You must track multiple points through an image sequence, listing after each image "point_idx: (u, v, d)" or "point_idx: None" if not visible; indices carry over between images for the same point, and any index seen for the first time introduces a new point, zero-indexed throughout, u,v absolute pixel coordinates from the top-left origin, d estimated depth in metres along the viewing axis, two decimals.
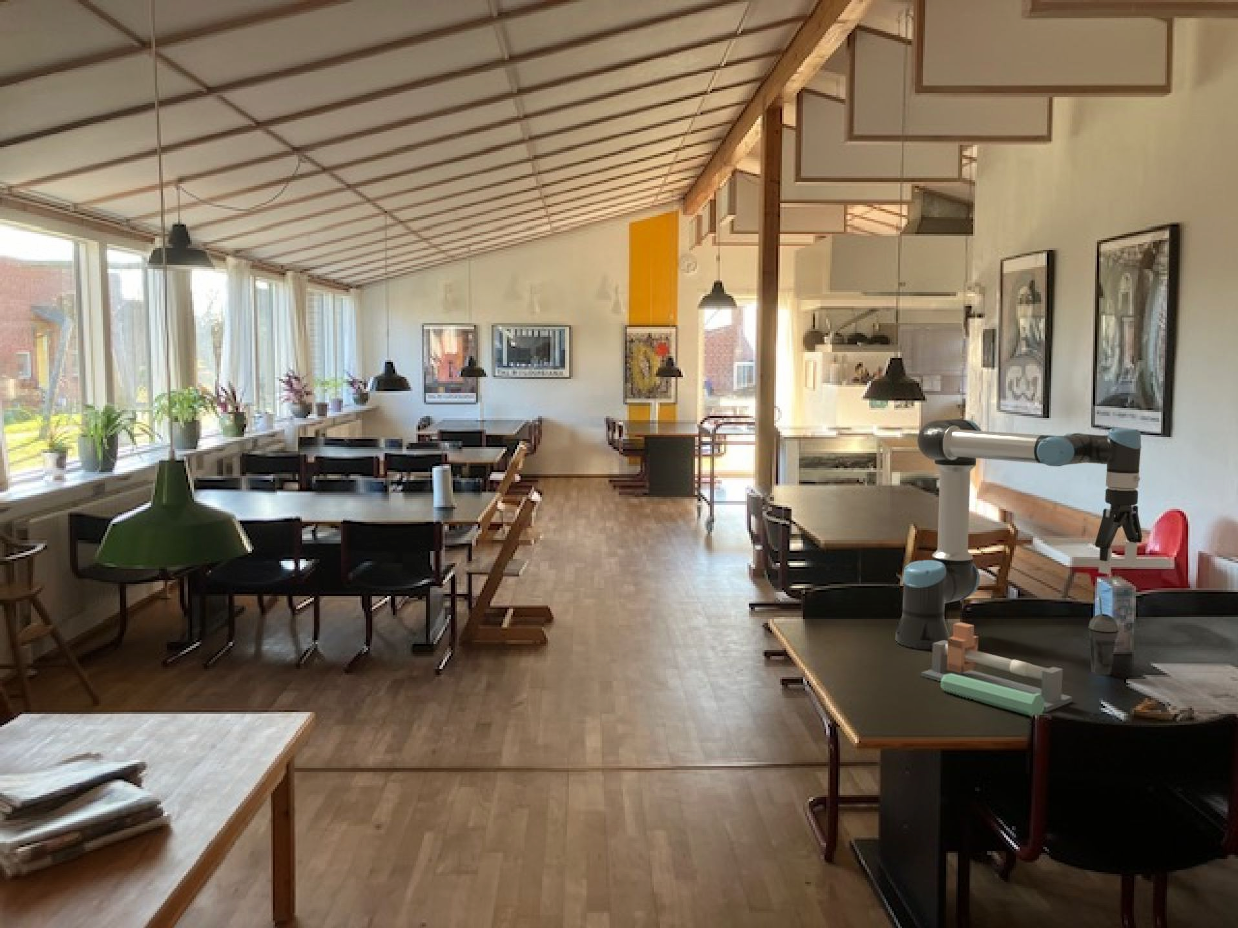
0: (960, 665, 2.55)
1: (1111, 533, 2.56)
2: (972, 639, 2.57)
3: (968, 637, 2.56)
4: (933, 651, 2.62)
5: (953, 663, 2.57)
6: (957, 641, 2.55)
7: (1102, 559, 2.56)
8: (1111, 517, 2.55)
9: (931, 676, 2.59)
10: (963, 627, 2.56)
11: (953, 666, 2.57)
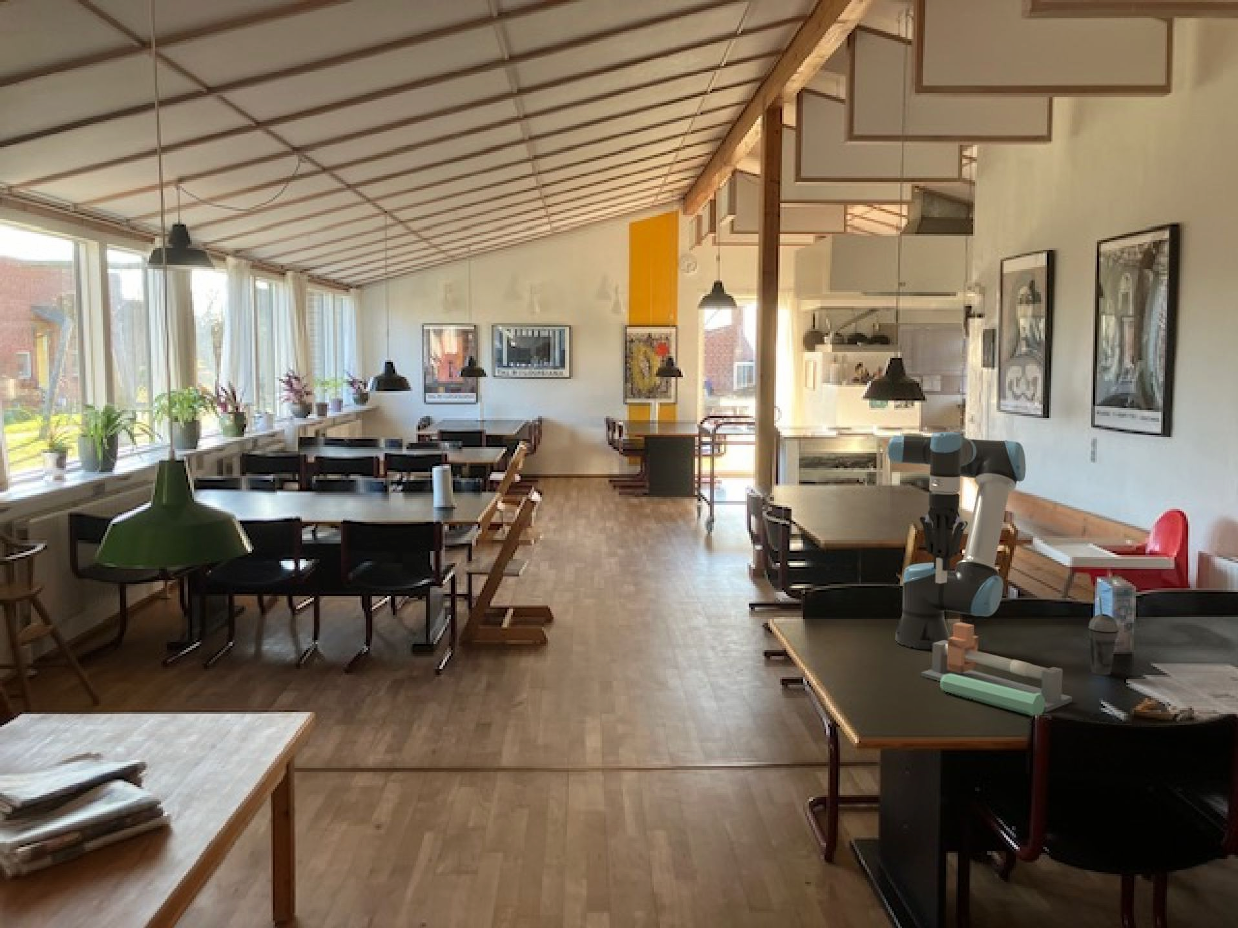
0: (960, 665, 2.55)
1: None
2: (972, 639, 2.57)
3: (968, 637, 2.56)
4: (933, 651, 2.62)
5: (953, 663, 2.57)
6: (957, 641, 2.55)
7: None
8: (922, 524, 2.64)
9: (931, 676, 2.59)
10: (963, 627, 2.56)
11: (953, 666, 2.57)
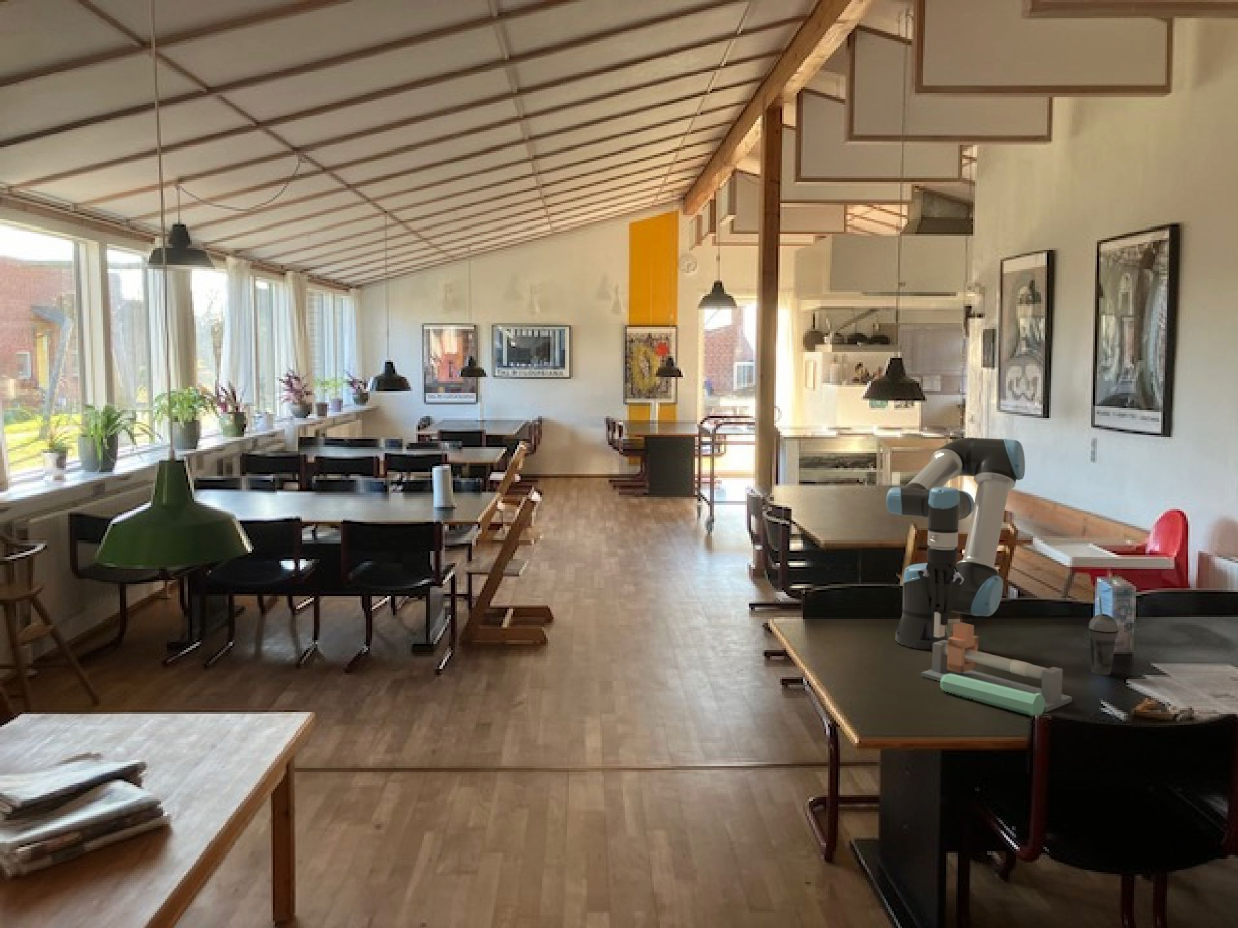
0: (960, 665, 2.55)
1: None
2: (972, 639, 2.57)
3: (968, 637, 2.56)
4: (933, 651, 2.62)
5: (953, 663, 2.57)
6: (957, 641, 2.55)
7: None
8: (921, 578, 2.66)
9: (931, 676, 2.59)
10: (963, 627, 2.56)
11: (953, 666, 2.57)
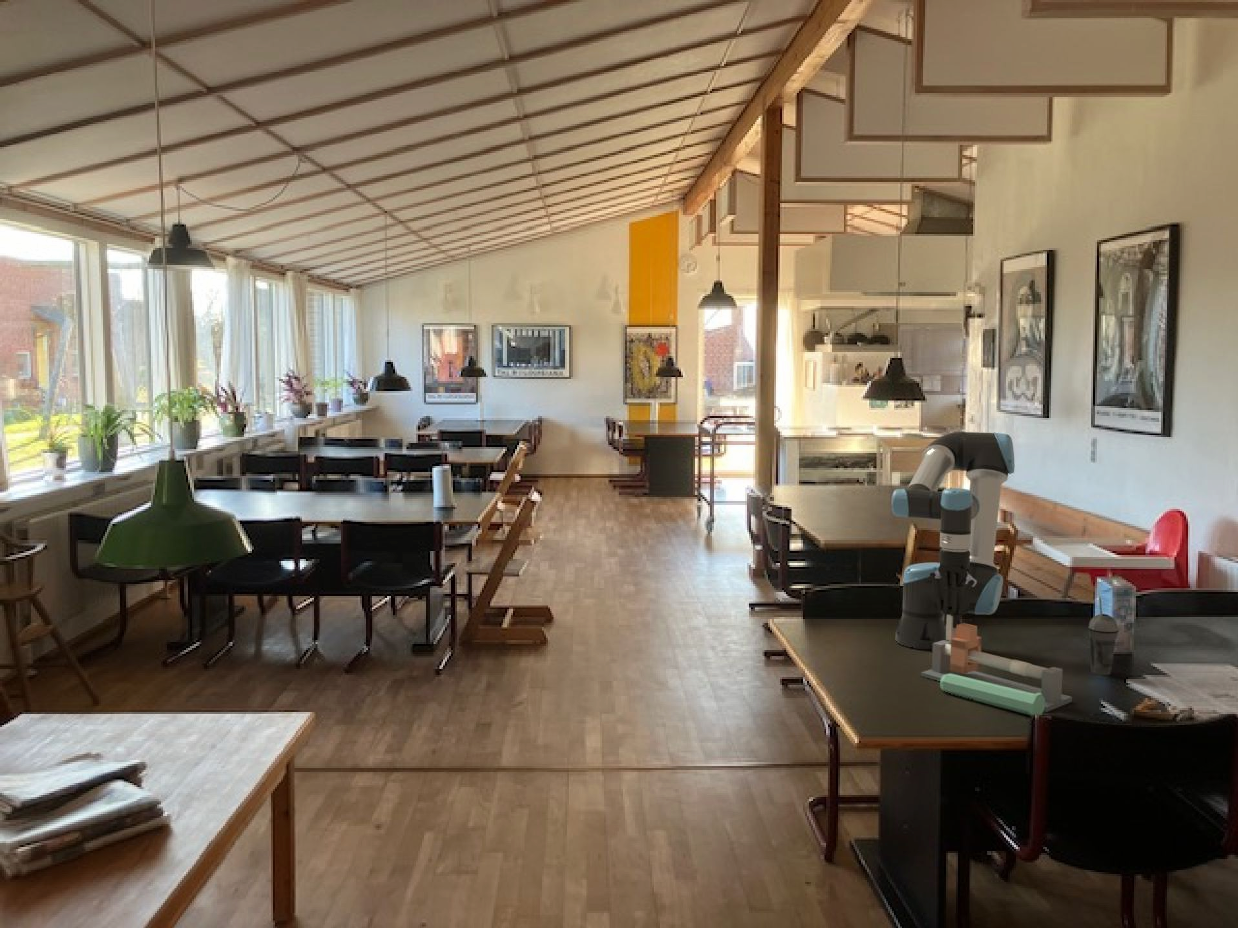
0: (963, 666, 2.54)
1: None
2: (975, 640, 2.57)
3: (971, 638, 2.55)
4: (933, 651, 2.62)
5: (956, 664, 2.56)
6: (960, 642, 2.55)
7: None
8: (933, 580, 2.63)
9: (931, 676, 2.59)
10: (966, 628, 2.56)
11: (956, 667, 2.56)
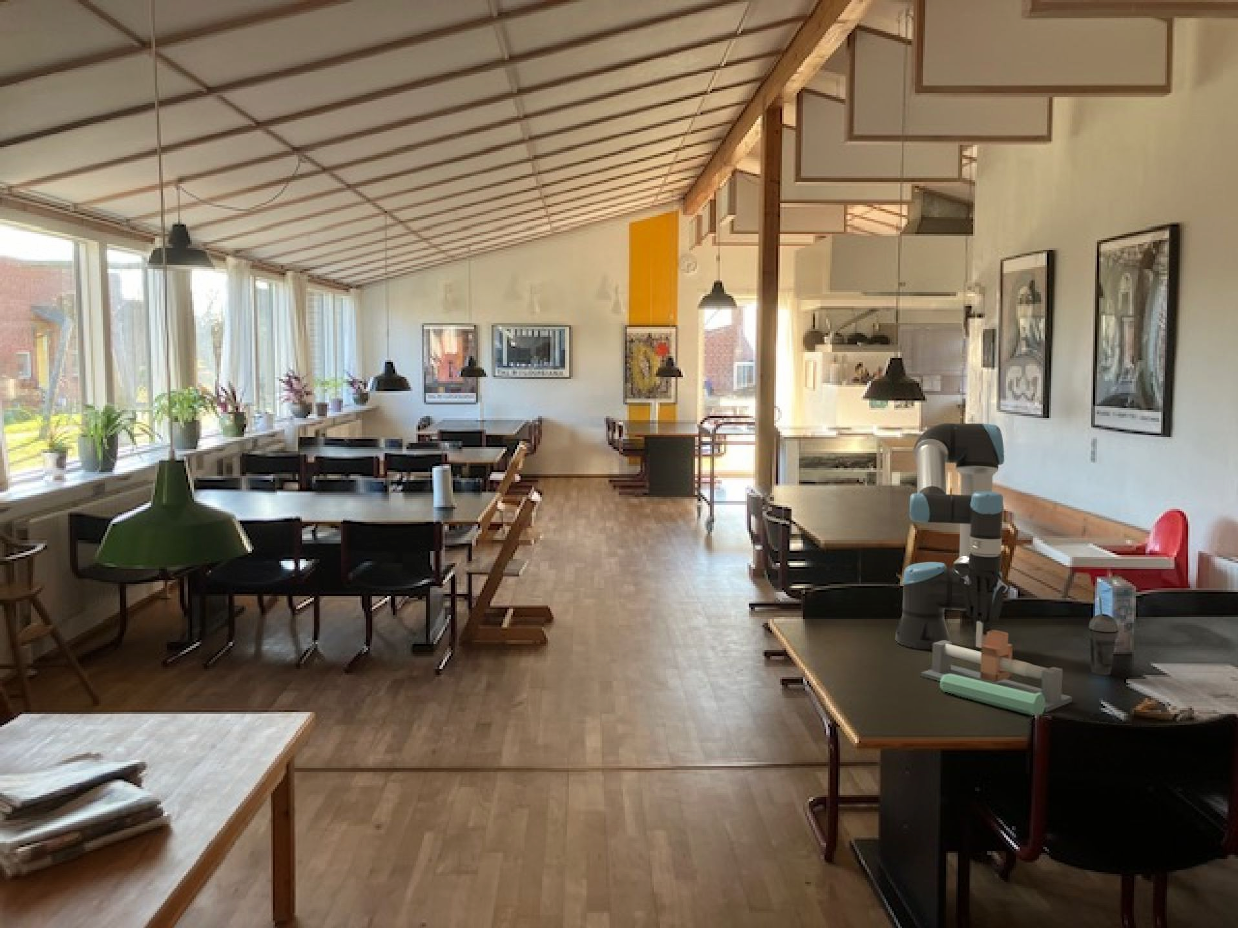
0: (994, 674, 2.48)
1: None
2: (1006, 647, 2.50)
3: (1002, 645, 2.49)
4: (933, 651, 2.62)
5: (987, 672, 2.49)
6: (991, 649, 2.48)
7: None
8: (962, 586, 2.56)
9: (931, 676, 2.59)
10: (997, 635, 2.49)
11: (987, 675, 2.49)
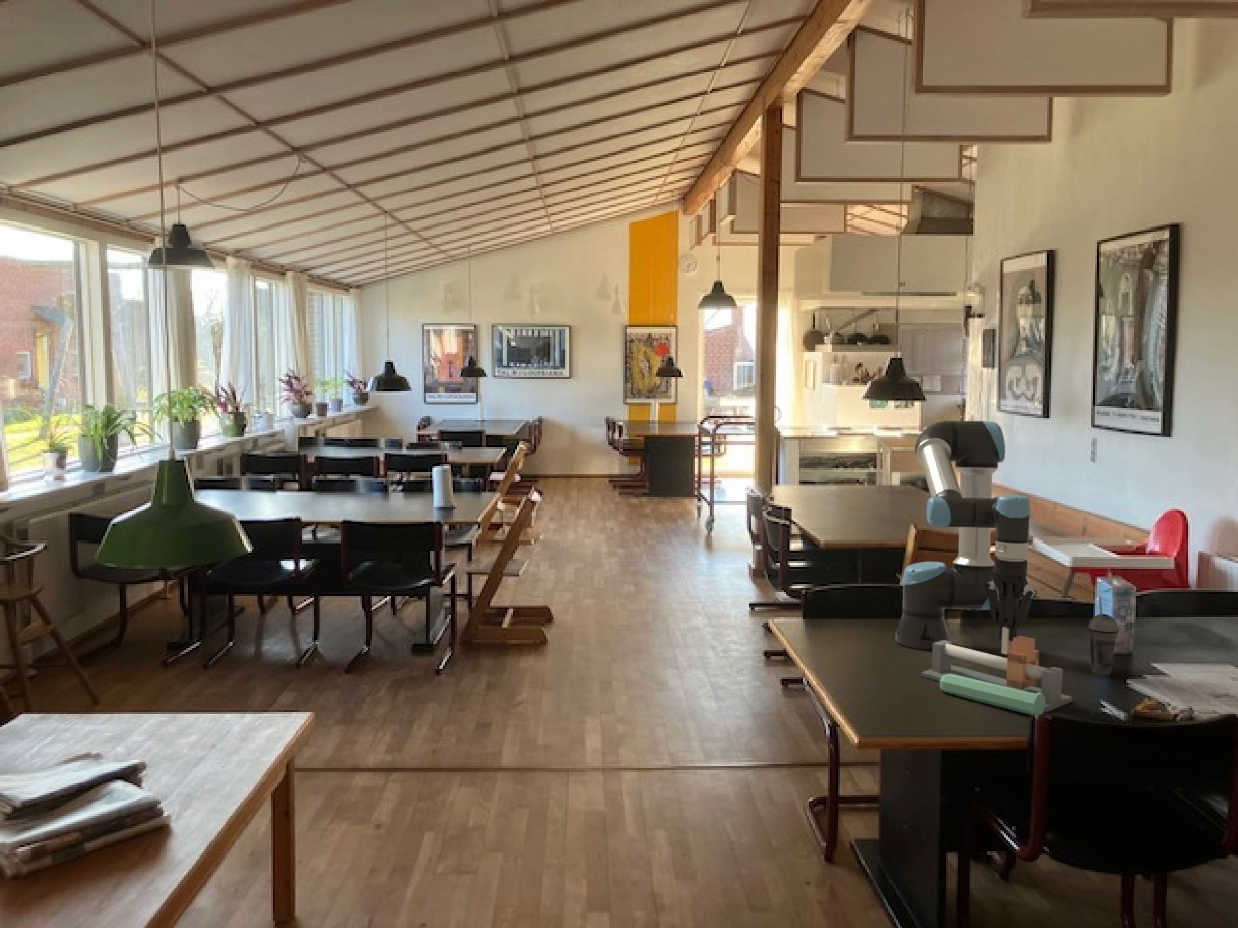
0: (1021, 681, 2.42)
1: None
2: (1033, 653, 2.45)
3: (1029, 652, 2.43)
4: (933, 651, 2.62)
5: (1013, 679, 2.44)
6: (1017, 656, 2.43)
7: None
8: (987, 591, 2.51)
9: (931, 676, 2.59)
10: (1024, 641, 2.44)
11: (1013, 682, 2.44)
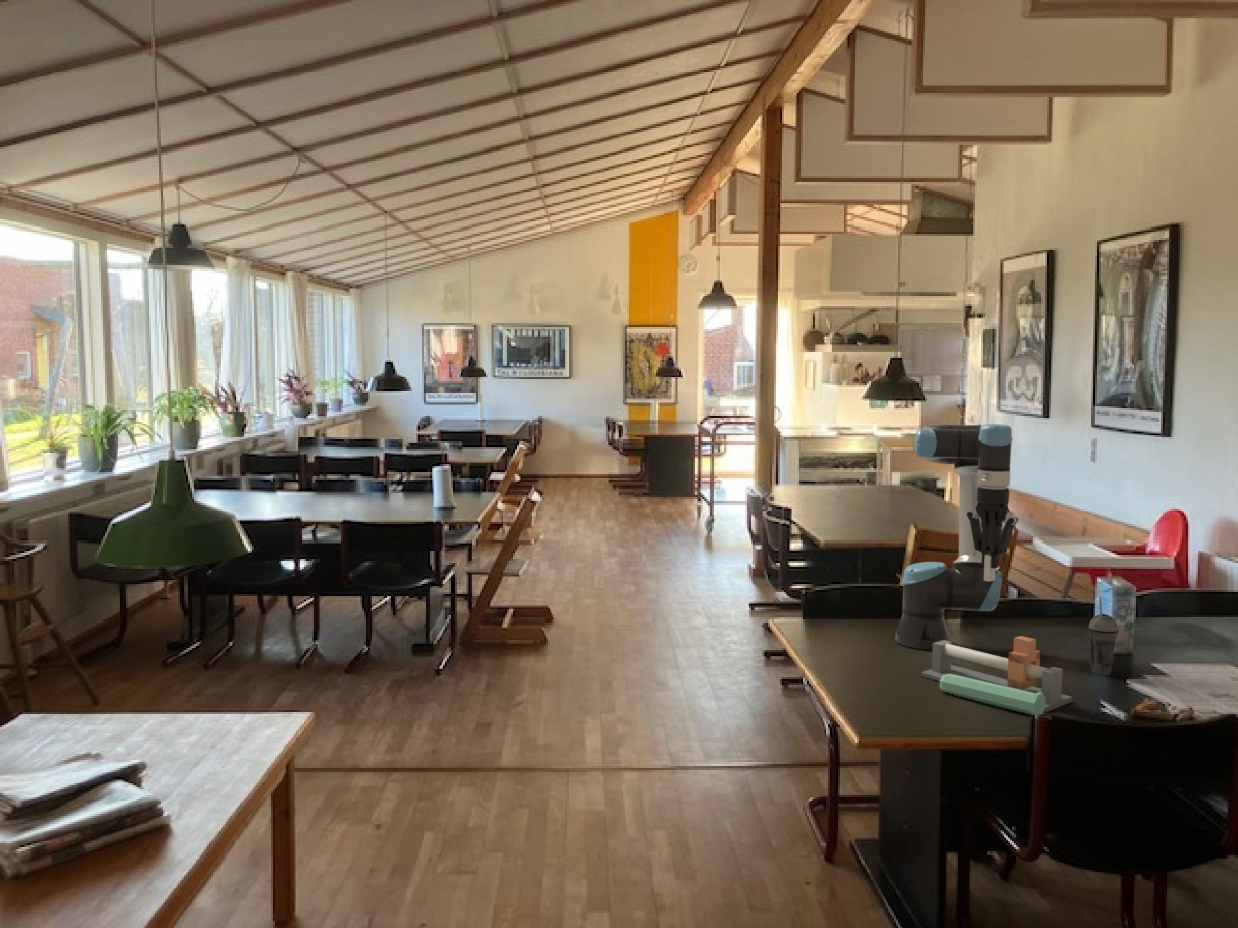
0: (1022, 682, 2.42)
1: None
2: (1034, 654, 2.44)
3: (1030, 652, 2.43)
4: (933, 651, 2.62)
5: (1014, 679, 2.44)
6: (1018, 656, 2.42)
7: None
8: (970, 520, 2.55)
9: (931, 676, 2.59)
10: (1025, 641, 2.43)
11: (1014, 682, 2.44)
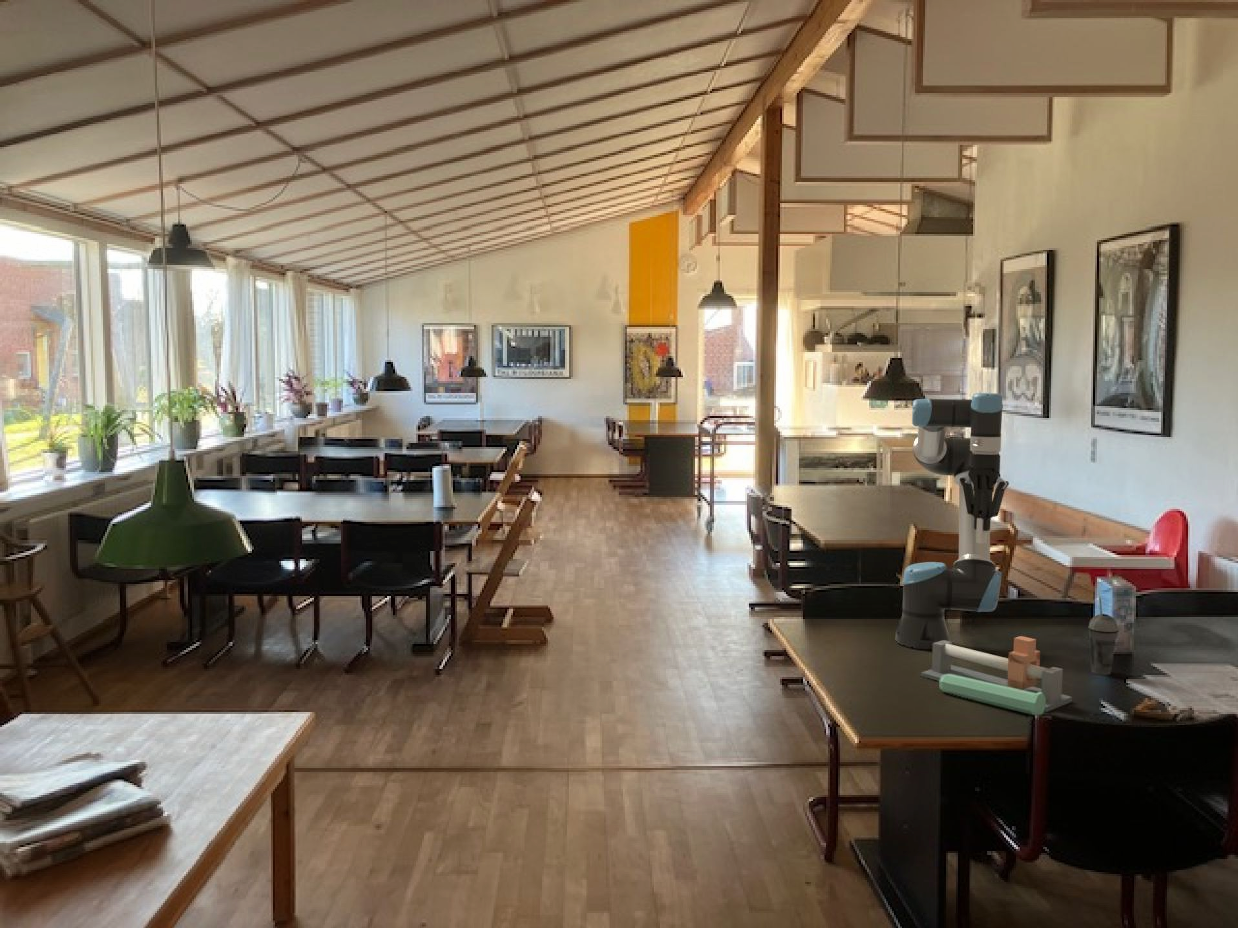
0: (1022, 682, 2.42)
1: None
2: (1034, 654, 2.44)
3: (1030, 652, 2.43)
4: (933, 651, 2.62)
5: (1014, 679, 2.44)
6: (1018, 656, 2.42)
7: None
8: (962, 485, 2.66)
9: (931, 676, 2.59)
10: (1025, 641, 2.43)
11: (1014, 682, 2.44)
